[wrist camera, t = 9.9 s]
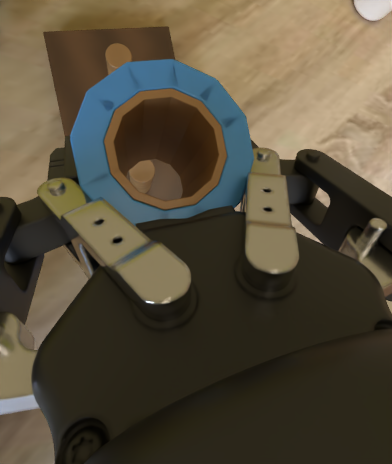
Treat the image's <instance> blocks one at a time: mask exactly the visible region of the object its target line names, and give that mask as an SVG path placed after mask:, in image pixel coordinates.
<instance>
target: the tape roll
mask: <svg viewBox="0 0 392 464" xmlns="http://www.w3.org/2000/svg"><path fill="white" fill-rule="evenodd" d="M70 142H71V147H72V151H73V156H74V161H75V166H76V170H77V175H78V180H79V185H80V187H81V189H82V190H83V191H84V192H85V193H86V194H87V196H88V197H89V198H90V199H91V200H94V199H96V198H99V197H102V198H104V199H105V200H106V201H107V202H108V203H110V204H111V205H112V206H113V207H114V208H115V209H116V210H117V211H119V212H120V213H121V214H122V215H123V216H124V217H125V218H127V219H128V220H129V221H130V222H131V223H132V224H133V225H135V226H136V224H137V223H142V222H147V221H152V220H157V219H183V218H189V217H192V216H194V215H197V214H199V213H202V212H204V211H207V210H209V209H214V208H219V207H224V206H229V205H232V206H233V208H235V207H236V206H237V205H238V204H239V203H240V202H241V200H242V197H243V194H244V191H245V185H246V177H247V173H248V172H250V171H251V168H252V165H253V160H254V154H253V149H252V144H251V139H250V134H249V129H248V124H247V119H246V116H245V115H244V113H243V112H242V111H241V109H240V108H239V107H238V105H237V104H236V103H235V102H234V100H233V99H232V98H231V97H230V95H229V94H228V93H227V91H226V90H225V89H224V88H223V86H222V85H221V84H220V83H219V81H218V80H216V79H215V78H213V77H211V76H209V75H207V74H205V73H203V72H200V71H198V70H196V69H194V68H192V67H190V66H187V65H185V64H183V63H181V62H179V61H177V60H174V59H162V60H148V61H133V62H126V63H125V64H123V65H122V66H120V67H119V68H118V69H116V70H115V71H113V72H112V73H111V74H109V75H108V76H106V77H105V78H104V79H102V80H101V81H100V82H98V83H97V84H95V85H94V86H93V87H91V88H90V89H89V90H88V91H87V92H86V94H85V97H84V100H83V102H82V105H81V108H80V110H79V113H78V116H77V118H76V121H75V124H74V126H73V129H72V131H71V134H70ZM153 159H157V160H159V161H162V162H164V163H167V164H170V165H171V166H172V168H173V169H174V170H175V171H176V172H177V173H178V175H179V176H180V179H181V184H182V189H183V193H182V196H181V198H179V199H174V200H168V201H164V200H161V199H158V198H155V197H153V196H150V195H147V194H144V193H141V192H139V191H138V190H137V189H136V188H135V187H134V186H133V184H132V183H131V182H130V181H129V180H128V179H127V178H126V176H127V173H128V171H129V170H130V169H131V168H133V167H134V166H135V165H136V164H138V163H139V162H140V161H146V160H153Z"/></svg>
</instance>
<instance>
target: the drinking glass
mask: <svg viewBox="0 0 392 464" xmlns="http://www.w3.org/2000/svg"><path fill="white" fill-rule="evenodd" d="M354 5H355V8H356V10H357V11H358V13H359V14H360V15H361V16H362V17H363V18H365V19H367V20H370V21H377V20H380V19H382V18H384V17H385V16H386V15H387V14H388V13H390V12H391V11H392V0H354Z"/></svg>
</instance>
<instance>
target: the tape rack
mask: <svg viewBox="0 0 392 464" xmlns="http://www.w3.org/2000/svg"><path fill="white" fill-rule="evenodd" d="M43 33H44V38H45V43H46V48H47V52H48V57H49V62H50V67H51V72H52V76H53V81H54V86H55V91H56V95H57V100H58V105H59V110H60V114H61V119H62V124H63V129H64V133H65V136H70V134H71V131H72V129H73V126H74V124H75V121H76V118H77V116H78V113H79V110H80V108H81V105H82V102H83V100H84V97H85V94H86V92H87V91H88V90H89V89H90V88H91V87H93V86H94V85H95V84H97V83H98V82H100V81H101V80H102V79H104V78H105V77H106V76H108V75H109V74H111V73H112V72H113V71H115V70H116V69H118V68H119V67H120V66H122V65H123V64H125V63H126V62H133V61H148V60H162V59H174V60H175V57H174V52H173V47H172V42H171V37H170V32H169V27H148V28H125V29H101V30H77V31H54V32H43ZM126 178H127V179H128V180H129V181H130V182H131V183H132V184H133V186H134V187H135V188H136V189H137V190H138V191H139V192H141V193H144V194H147V195H150V196H153V197H155V198H158V199H161V200H164V201H168V200H174V199H179V198H181V196H182V193H183V189H182V184H181V179H180V176H179V175H178V173H177V172H176V171H175V170H174V169H173V168H172V166H171V165H170V164H167V163H164V162H162V161H159V160H157V159H153V160H146V161H140V162H139V163H138V164H136V165H135V166H134V167H133V168H131V169H130V170H129V171H128V173H127V176H126Z"/></svg>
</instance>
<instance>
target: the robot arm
mask: <svg viewBox="0 0 392 464" xmlns="http://www.w3.org/2000/svg"><path fill="white" fill-rule="evenodd" d="M251 144H252V149H253V154H254V160H253V165H252V168H251V171H250V172H248V173H247V177H246V185H245V191H244V194H243V197H242V200H241V204H240V212H239V211H235V210H234V208H233V206H232V205H229V206H224V207H219V208H214V209H209V210H207V211H204V212H202V213H199V214H197V215H194V216H192V217H189V218H183V219H157V220H152V221H147V222H142V223H137V224H136V226H135V225H133V224H132V223H131V222H130V221H129V220H128V219H127V218H125V217H124V216H123V215H122V214H121V213H120V212H119V211H117V210H116V209H115V208H114V207H113V206H112V205H111V204H110V203H108V202H107V201H106V200H105V199H104V198H102V197H99V198H96V199H94V200H91V199H90V198H89V197H88V196H87V194H86V193H85V192H84V191H83V190H82V189H81V187H80V185H79V180H78V175H77V170H76V166H75V161H74V156H73V151H72V147H71V142H70V136H65V148H57V149H55V150H54V151H53V153H52V154H51V155H50V162H49V171H48V179H47V181H46V182H44V183H43V184H42V185H41V186H40V187H39V188H38V190H37V193H38V197H36V198H34V199H32V200H30V201H27V202H24V203H21V204H18V205H16V203H15V201H14V200H13V199H11V198H8V197H0V415H3V414H9V413H15V412H20V411H26V410H32V409H37V408H40V409H41V411H42V412H43V414H44V416H45V418H46V419H47V422H48V425H49V427H50V430H51V434H52V438H53V443H54V451H55V464H392V314H391V312H390V309H389V307H388V305H387V302H386V300H388V301H392V197H391V196H389V195H388V194H386V193H385V192H383V191H381V190H380V189H378V188H377V187H375V186H374V185H372V184H371V183H369V182H368V181H366V180H365V179H363V178H361V177H360V176H358V175H357V174H355V173H354V172H352V171H351V170H349V169H348V168H346V167H344V166H343V165H341V164H340V163H338V162H337V161H335V160H334V159H332V158H331V157H329V156H327V155H326V154H324V153H323V152H320V151H317V150H312V149H304V150H301V151H299V152H298V153H297V156H296V159H295V160H282V159H279V155H278V153H277V152H275V151H273V150H271V149H268V148H259V147H258V146H257V145H256V144H255V143H254V142H253V141H252V140H251ZM319 187H320V188H321V189H322V190H324V191H325V192H326V193H327V194H328V195H329V197H330V205H329V207H328V208H327V207H326V206H325V205H323V204H322V203H321V202H320V201H319V200H317V199H316V198H315V196H316V193H317V191H318V188H319ZM290 213H291V214H292V215H293V216H294V217H295V218H296V219H297V220H298V221H299V222H301V223H302V224H303V225H304V226H305V227H306V228H307V229H308V230H309V231H310V232H311V233H312V234H313V235H314V236H315V237H316V238H318V239H319V240H320V241H321V242H322V243H323V244H324V245H323V244H321V243H319V242H317V241H314V240H312V239H310V238H308V237H305V236H303V235H301V234H299V233H297V232H296V230H295V227H292V224H291V215H290ZM62 245H63V246H64V248H65V249H66V250H67V251H68V253H69V254H70V255H71V256H72V258H73V259H74V260H75V261H76V262H77V264H78V265H79V266H80V267H81V269H82V270H83V271H84V273H85V274H86V276H87V278H88V279H89V280H88V281H87V283H86V284H85V285H84V287H83V288H82V289H81V291H80V292H79V293H78V295H77V296H76V297H75V299H74V300H73V301H72V303H71V304H70V305H69V307H68V308H67V310H66V311H65V312H64V314H63V315H62V316H61V318H60V319H59V320H58V322H57V323H56V324H55V326H54V327H53V328H52V330H51V331H50V332H49V334H48V335H47V336H46V338H45V339H44V341H43V342H42V344H41V345H40V347H39V349H38V350H34V337H33V335H32V333H31V332H30V331H29V330H28V329H27V328H26V327H25V322H26V319H27V315H28V312H29V308H30V305H31V301H32V298H33V294H34V291H35V287H36V284H37V280H38V277H39V273H40V270H41V266H42V262H43V259H44V253H46V252H49V251H51V250H53V249H55V248H58V247H60V246H62Z"/></svg>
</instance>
